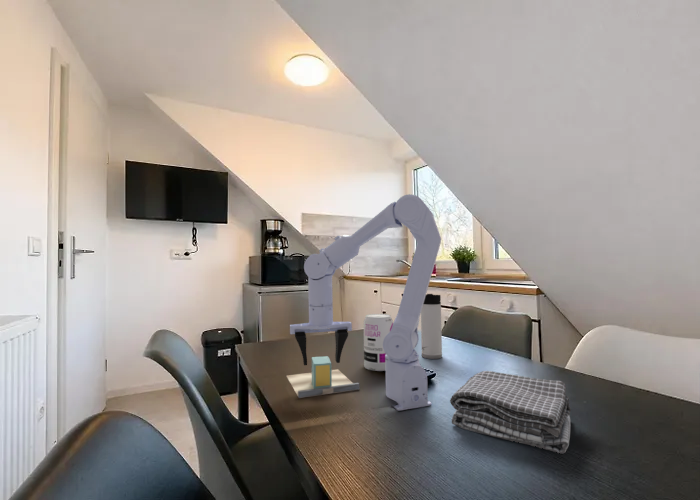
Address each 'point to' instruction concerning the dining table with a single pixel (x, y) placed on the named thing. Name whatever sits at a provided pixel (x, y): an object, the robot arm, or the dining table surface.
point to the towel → (515, 409)
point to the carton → (321, 372)
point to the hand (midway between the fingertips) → (321, 362)
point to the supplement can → (375, 340)
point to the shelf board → (305, 388)
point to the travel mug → (431, 327)
